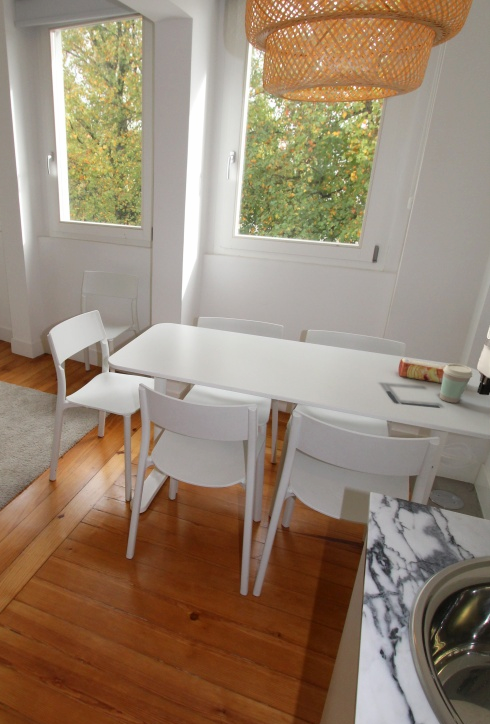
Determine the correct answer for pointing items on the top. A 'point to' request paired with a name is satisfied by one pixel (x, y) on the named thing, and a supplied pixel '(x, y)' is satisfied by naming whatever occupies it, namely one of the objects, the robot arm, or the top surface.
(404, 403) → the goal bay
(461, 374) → the coffee cup
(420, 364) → the snack package
